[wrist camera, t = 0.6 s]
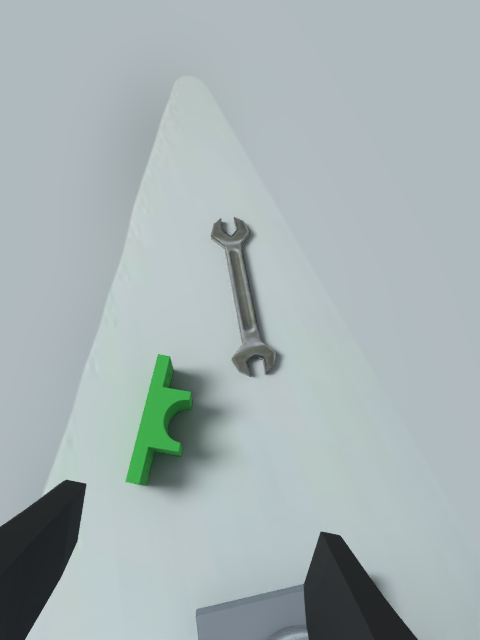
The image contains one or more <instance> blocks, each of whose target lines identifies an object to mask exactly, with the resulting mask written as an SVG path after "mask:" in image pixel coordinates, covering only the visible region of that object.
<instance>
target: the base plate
mask: <svg viewBox="0 0 480 640" xmlns="http://www.w3.org/2000/svg"><path fill="white" fill-rule="evenodd" d="M196 622H197V631H198V640H266V639H267V638H268V637H269V636H271V635H272V634H273V633H275V632H277V631H279V630H281V629H283V628H286V627H289V626H295V625H305V626H306V615H305V602H304V584H303V585H299V586H294V587H290V588H286V589H282V590H277V591H273V592H269V593H265V594H260V595H256V596H252V597H248V598H243V599H239V600H235V601H231V602H226V603H222V604H218V605H214V606H209V607H205V608H201V609H197V610H196Z"/></svg>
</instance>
